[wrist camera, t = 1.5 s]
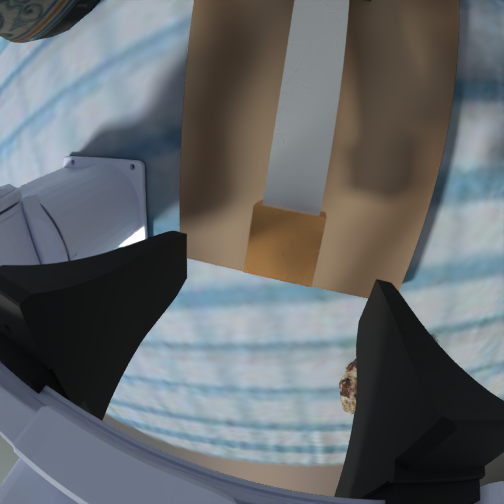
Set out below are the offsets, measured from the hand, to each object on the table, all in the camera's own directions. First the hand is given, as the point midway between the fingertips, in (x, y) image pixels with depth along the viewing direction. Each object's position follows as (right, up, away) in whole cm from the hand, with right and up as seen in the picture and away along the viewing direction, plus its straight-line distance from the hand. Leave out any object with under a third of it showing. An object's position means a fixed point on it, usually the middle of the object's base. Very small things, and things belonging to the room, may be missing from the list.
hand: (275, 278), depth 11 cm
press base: (+3, +10, +6) cm, 12 cm away
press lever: (+2, +8, +1) cm, 9 cm away
